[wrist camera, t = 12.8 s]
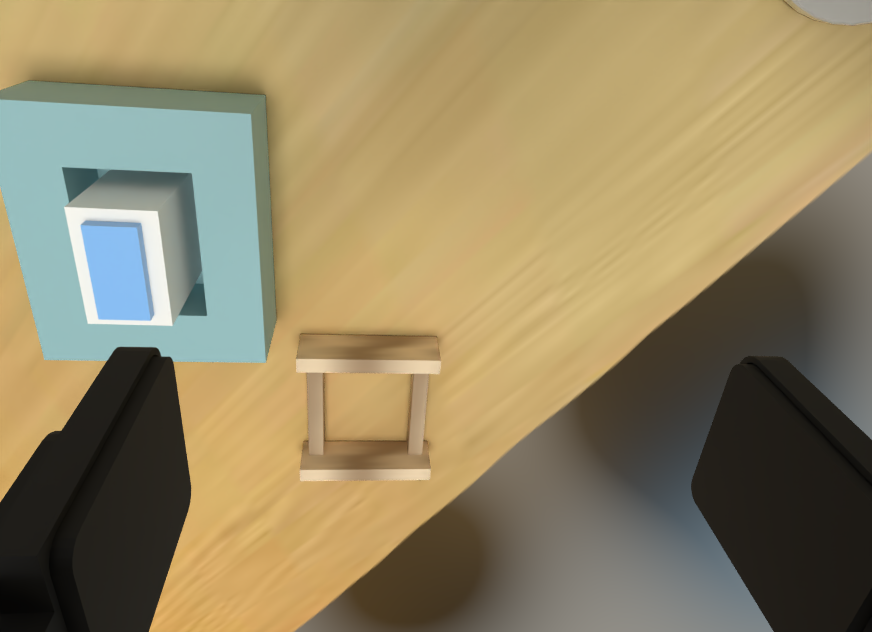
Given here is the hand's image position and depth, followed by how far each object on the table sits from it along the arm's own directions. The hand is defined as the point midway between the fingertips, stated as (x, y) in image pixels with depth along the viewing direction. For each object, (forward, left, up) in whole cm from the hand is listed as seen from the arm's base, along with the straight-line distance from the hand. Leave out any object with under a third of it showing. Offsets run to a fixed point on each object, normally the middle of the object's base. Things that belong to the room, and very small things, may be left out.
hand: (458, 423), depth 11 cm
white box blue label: (+13, +7, -27) cm, 31 cm away
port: (+13, +7, -28) cm, 32 cm away
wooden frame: (+1, +20, -28) cm, 35 cm away
